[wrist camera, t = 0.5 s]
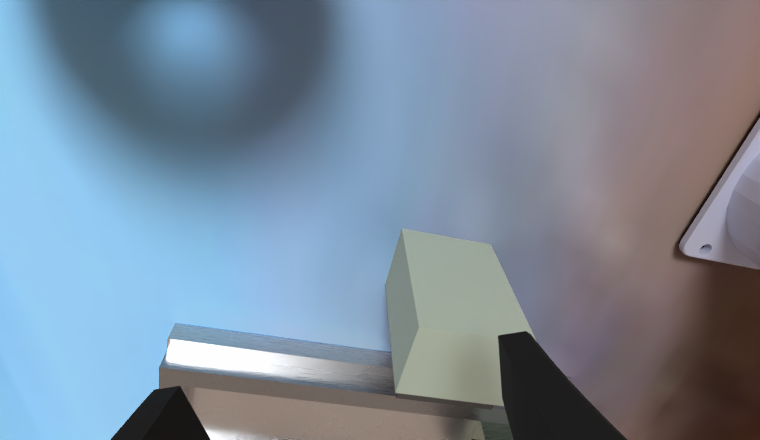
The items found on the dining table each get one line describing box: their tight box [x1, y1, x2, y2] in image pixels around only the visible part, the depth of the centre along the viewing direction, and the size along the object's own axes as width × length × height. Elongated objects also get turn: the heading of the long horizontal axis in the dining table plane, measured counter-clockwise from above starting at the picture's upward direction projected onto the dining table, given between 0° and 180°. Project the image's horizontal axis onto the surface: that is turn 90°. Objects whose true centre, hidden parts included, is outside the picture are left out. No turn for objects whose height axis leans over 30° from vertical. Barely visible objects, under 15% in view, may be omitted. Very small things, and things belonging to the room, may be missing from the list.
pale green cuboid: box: [385, 229, 537, 410], centre depth 18 cm, size 4×4×6 cm
